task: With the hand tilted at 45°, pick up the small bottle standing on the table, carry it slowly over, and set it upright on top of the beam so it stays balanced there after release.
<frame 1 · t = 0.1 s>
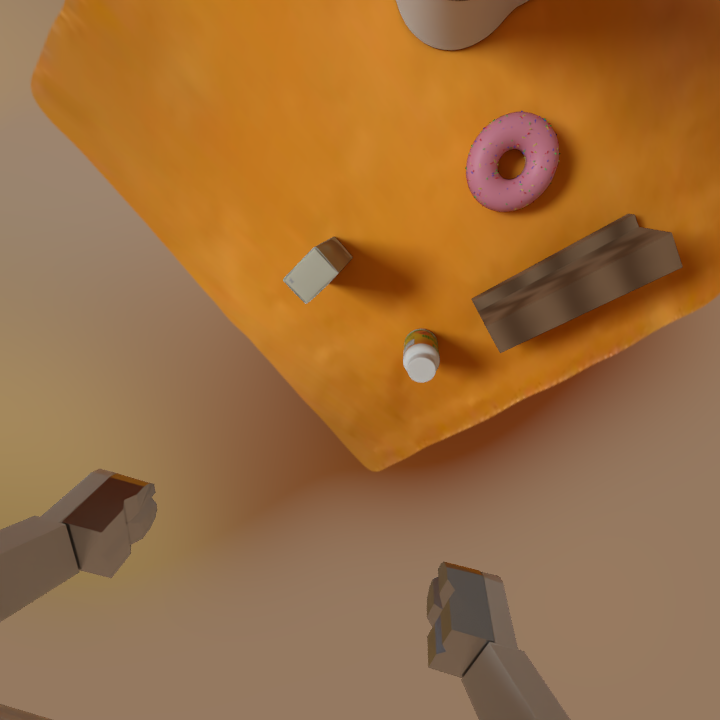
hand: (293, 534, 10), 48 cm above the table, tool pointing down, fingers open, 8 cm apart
supplement bottle: (420, 342, 58), on the table
doughnut: (506, 165, 46), on the table
skincare box: (330, 259, 54), on the table
beam: (554, 283, 51), on the table
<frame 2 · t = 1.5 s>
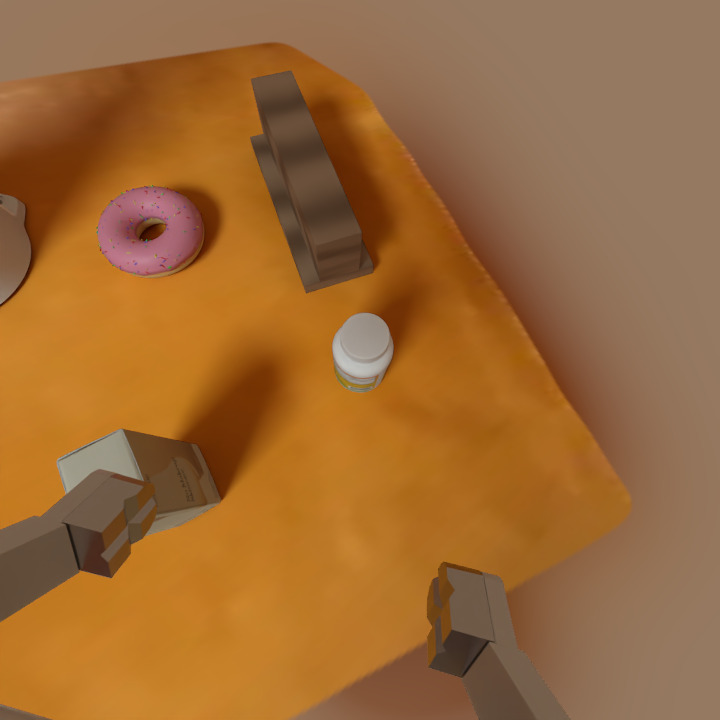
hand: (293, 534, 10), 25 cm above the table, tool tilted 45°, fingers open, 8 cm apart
supplement bottle: (359, 368, 37), on the table
doughnut: (162, 244, 41), on the table
skincare box: (188, 482, 33), on the table
beam: (309, 206, 43), on the table
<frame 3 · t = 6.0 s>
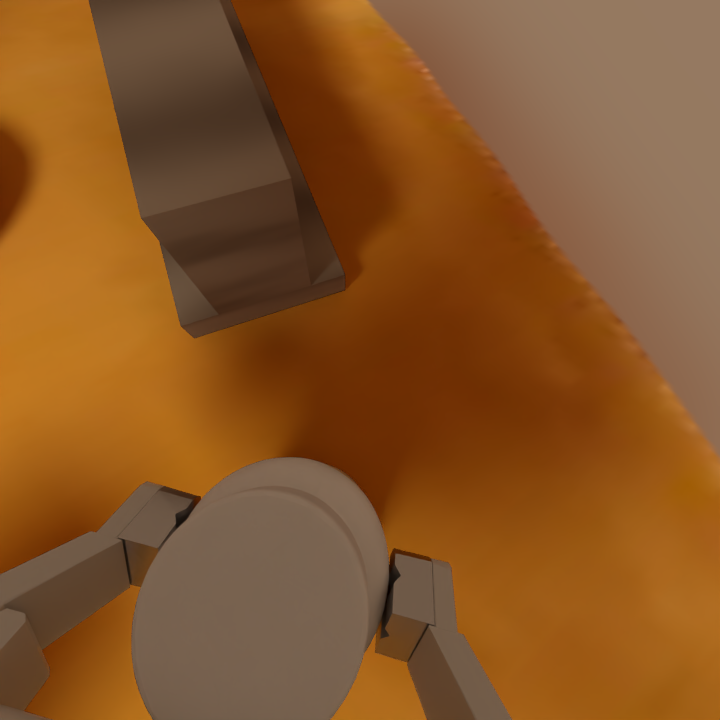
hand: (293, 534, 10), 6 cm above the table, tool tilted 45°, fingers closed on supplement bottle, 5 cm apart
supplement bottle: (309, 526, 15), on the table, touching gripper
beam: (218, 155, 21), on the table
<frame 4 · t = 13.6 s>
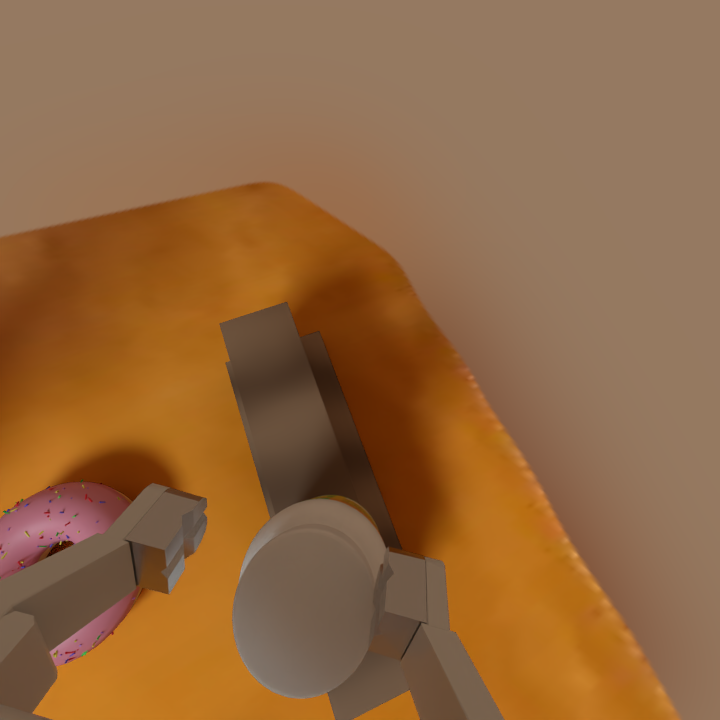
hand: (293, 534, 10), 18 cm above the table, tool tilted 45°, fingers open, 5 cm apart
supplement bottle: (331, 547, 19), point 8 cm above the table, touching gripper, beam
doughnut: (85, 560, 26), on the table
beam: (318, 477, 27), on the table
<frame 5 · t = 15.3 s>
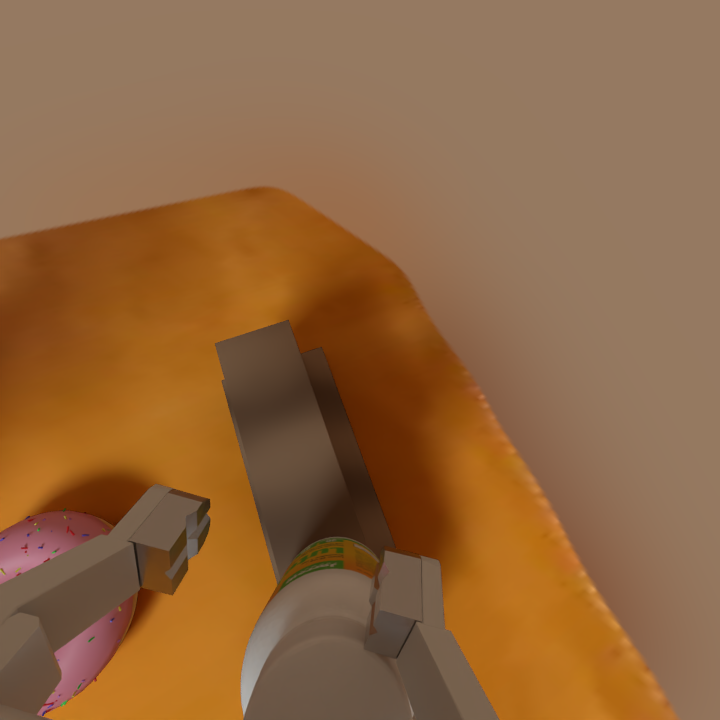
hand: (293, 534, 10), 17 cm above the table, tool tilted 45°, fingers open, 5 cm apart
supplement bottle: (335, 594, 17), point 8 cm above the table, touching gripper, beam
doughnut: (68, 594, 24), on the table
beam: (320, 504, 26), on the table
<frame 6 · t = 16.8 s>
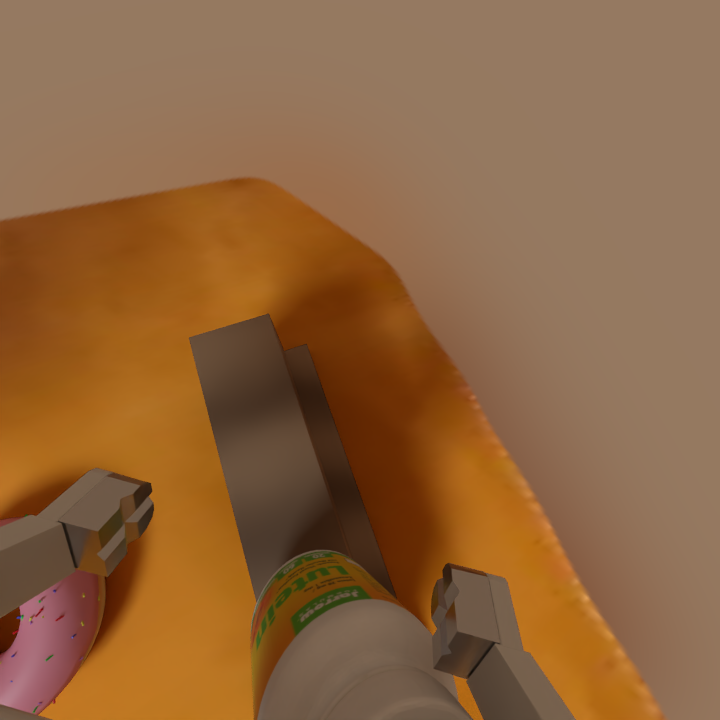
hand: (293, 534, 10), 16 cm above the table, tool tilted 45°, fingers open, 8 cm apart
supplement bottle: (314, 614, 15), point 8 cm above the table, touching gripper, beam
doughnut: (29, 607, 22), on the table
beam: (302, 509, 24), on the table
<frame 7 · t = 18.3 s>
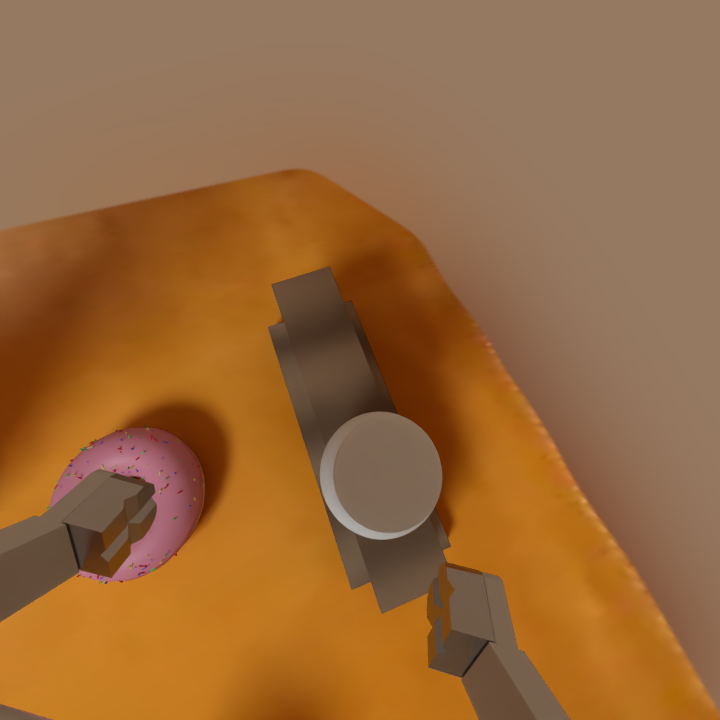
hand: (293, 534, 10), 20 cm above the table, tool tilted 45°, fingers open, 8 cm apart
supplement bottle: (371, 471, 22), point 8 cm above the table, touching beam
doughnut: (146, 497, 29), on the table
beam: (351, 429, 31), on the table
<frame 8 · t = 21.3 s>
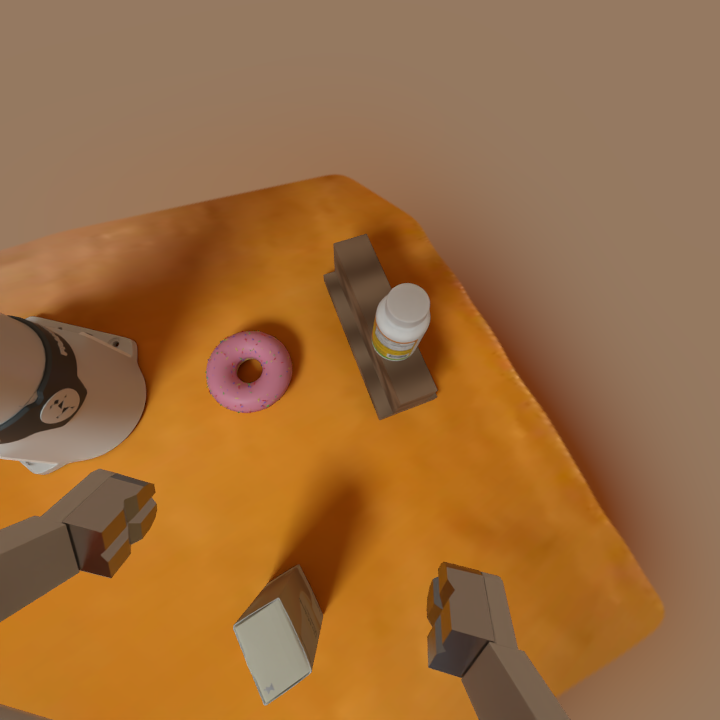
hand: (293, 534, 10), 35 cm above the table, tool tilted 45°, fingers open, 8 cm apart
supplement bottle: (393, 340, 41), point 8 cm above the table, touching beam
doughnut: (254, 375, 48), on the table
skincare box: (294, 598, 40), on the table
beam: (376, 336, 50), on the table
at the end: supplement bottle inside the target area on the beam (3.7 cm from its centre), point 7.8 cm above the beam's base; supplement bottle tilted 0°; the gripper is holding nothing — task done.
